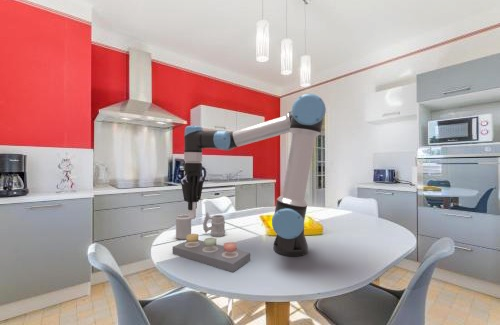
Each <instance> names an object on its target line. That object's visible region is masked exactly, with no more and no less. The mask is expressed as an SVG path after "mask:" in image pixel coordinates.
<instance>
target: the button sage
mask: <svg viewBox="0 0 500 325" xmlns="http://www.w3.org/2000/svg"><path fill="white" fill-rule="evenodd" d="M203 241H204V246H206V247H213V246H216V245H218V244H217V237H207V238H204V240H203Z"/></svg>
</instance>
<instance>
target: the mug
mask: <svg viewBox="0 0 500 325" xmlns="http://www.w3.org/2000/svg"><path fill="white" fill-rule="evenodd" d="M209 220H211V226H210V227H209V226H207V223H208V221H209ZM225 224H226V222H225V216H224V215H223V214H222V215H221V214H217V215H213V216H210V213H209V212H207V211H206V212H205V218H204V219H203V223H202V226H203V227H202V228H203V229H202V230H203V231H204V233H208V232H209V231H210V235H211V237H212V238H221V237H224V236H225V233H226V229H225V226H226V225H225Z"/></svg>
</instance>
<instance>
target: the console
mask: <svg viewBox="0 0 500 325" xmlns="http://www.w3.org/2000/svg"><path fill="white" fill-rule="evenodd" d="M172 255H176V256H179V257H183V258H185V259H188V260H192V261H195V262H198V263H202V264H205V265H207V266H212V267H215V268H218V269H222V270H224V271H228V272H230V273H234V272H236V271H237V270H238V269H239V268H241V267H243V266H244V265H246V264H247V263H248V262H250V261H251V252H248V251H246V250H240V249H237V250H236V251H234V252H226V251H224V245H221V244H217V245H216V246H213V247H206V246H204V240H200V239H198V241H196V242H187V240H186V241H184V242H180V243H179V244H176V245H173V246H172Z"/></svg>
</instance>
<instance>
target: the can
mask: <svg viewBox="0 0 500 325" xmlns="http://www.w3.org/2000/svg"><path fill="white" fill-rule="evenodd" d="M189 234H192V218H191V217H189V212H188V213H187V212H184V213H182V212H181V213H178V214H177V216H176V218H175V238H176V239H178V240H182V241H183V240H187V235H189Z"/></svg>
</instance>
